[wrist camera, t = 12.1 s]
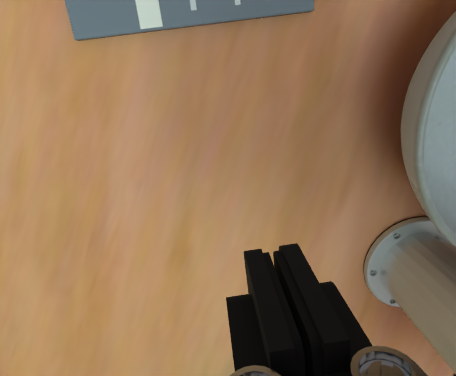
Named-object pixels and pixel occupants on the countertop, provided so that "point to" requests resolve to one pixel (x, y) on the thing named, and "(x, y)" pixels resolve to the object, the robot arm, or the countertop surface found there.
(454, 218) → the decorative bowl
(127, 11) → the board
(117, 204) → the countertop surface
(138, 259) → the countertop surface
